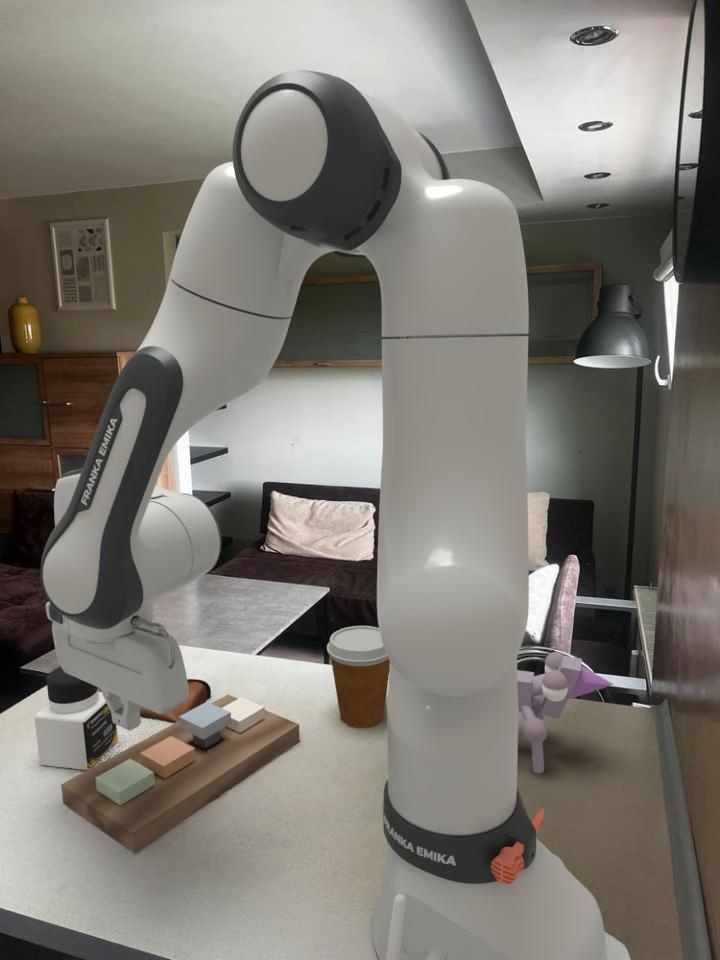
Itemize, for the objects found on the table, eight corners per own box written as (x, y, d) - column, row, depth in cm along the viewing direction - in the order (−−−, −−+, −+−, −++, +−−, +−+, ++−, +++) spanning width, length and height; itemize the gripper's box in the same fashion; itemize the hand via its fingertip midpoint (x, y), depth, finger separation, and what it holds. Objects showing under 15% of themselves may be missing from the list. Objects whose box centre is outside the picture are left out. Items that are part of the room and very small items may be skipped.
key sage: (156, 801, 81) (153, 772, 81) (121, 823, 78) (119, 792, 77) (132, 787, 84) (130, 758, 83) (98, 807, 80) (95, 777, 80)
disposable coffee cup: (315, 715, 100) (312, 637, 98) (364, 693, 106) (362, 619, 104) (360, 742, 93) (358, 659, 91) (409, 716, 100) (408, 637, 97)
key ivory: (265, 732, 95) (264, 706, 95) (241, 748, 92) (239, 721, 91) (242, 722, 98) (241, 697, 97) (217, 736, 94) (215, 711, 94)
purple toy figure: (609, 742, 92) (614, 648, 89) (609, 794, 82) (615, 691, 79) (460, 718, 99) (459, 630, 96) (443, 764, 89) (442, 668, 86)
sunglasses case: (75, 711, 103) (86, 664, 105) (102, 712, 109) (111, 668, 111) (185, 725, 98) (194, 676, 100) (206, 726, 105) (214, 680, 107)
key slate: (232, 739, 90) (230, 712, 89) (204, 755, 87) (202, 728, 86) (208, 727, 93) (206, 701, 92) (180, 743, 89) (178, 716, 89)
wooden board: (299, 741, 94) (299, 724, 93) (134, 853, 74) (132, 832, 73) (229, 710, 102) (228, 694, 102) (63, 803, 82) (61, 784, 82)
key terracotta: (196, 775, 86) (194, 748, 85) (166, 795, 82) (163, 766, 82) (173, 763, 89) (170, 735, 88) (142, 781, 85) (139, 753, 84)
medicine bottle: (88, 771, 88) (79, 684, 86) (38, 766, 90) (28, 679, 87) (119, 740, 95) (111, 658, 93) (72, 735, 96) (63, 655, 94)
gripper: (195, 617, 72) (209, 738, 75) (87, 586, 85) (102, 691, 87) (143, 638, 67) (160, 768, 70) (37, 602, 80) (54, 713, 82)
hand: (127, 724), depth 79 cm, fingers closed
